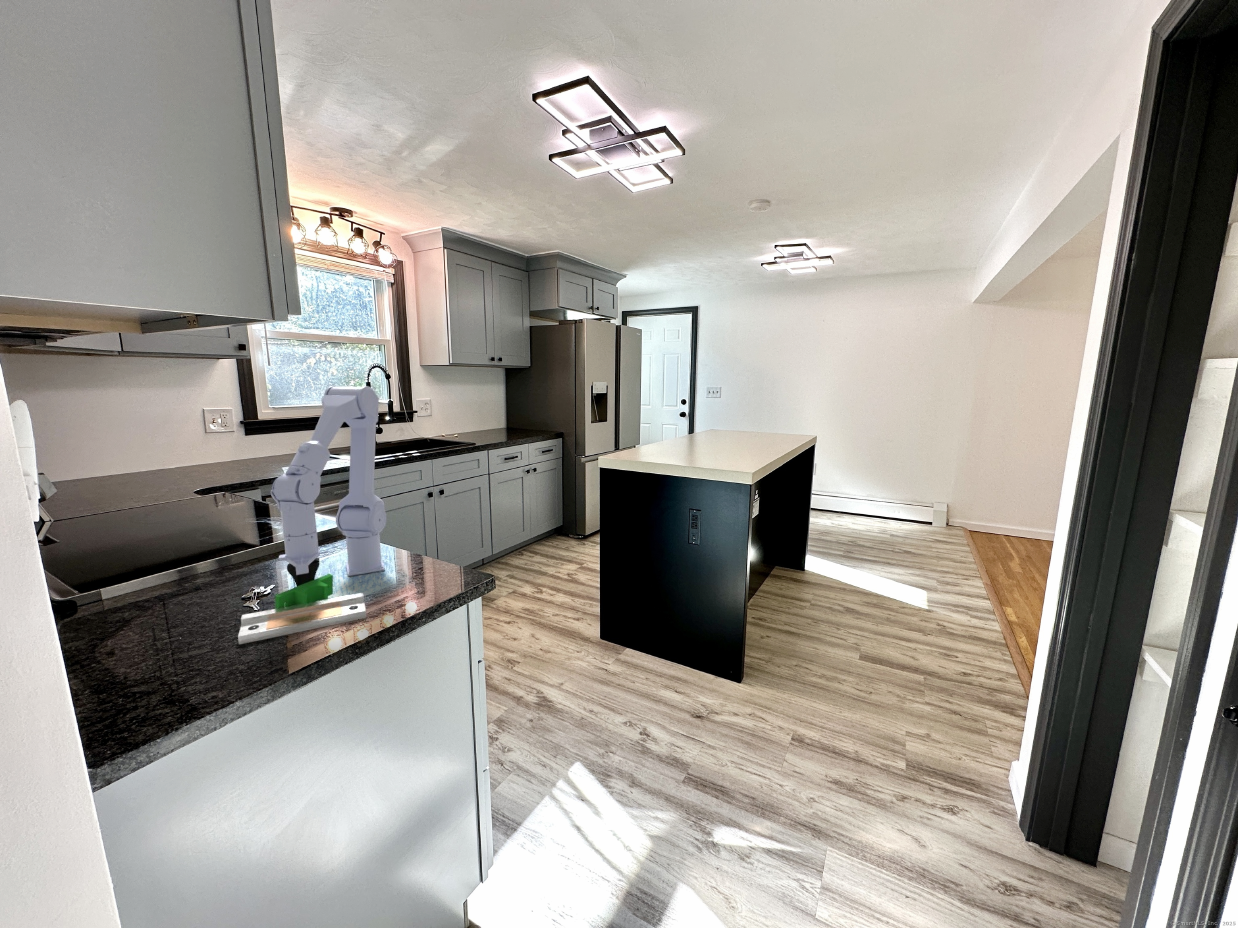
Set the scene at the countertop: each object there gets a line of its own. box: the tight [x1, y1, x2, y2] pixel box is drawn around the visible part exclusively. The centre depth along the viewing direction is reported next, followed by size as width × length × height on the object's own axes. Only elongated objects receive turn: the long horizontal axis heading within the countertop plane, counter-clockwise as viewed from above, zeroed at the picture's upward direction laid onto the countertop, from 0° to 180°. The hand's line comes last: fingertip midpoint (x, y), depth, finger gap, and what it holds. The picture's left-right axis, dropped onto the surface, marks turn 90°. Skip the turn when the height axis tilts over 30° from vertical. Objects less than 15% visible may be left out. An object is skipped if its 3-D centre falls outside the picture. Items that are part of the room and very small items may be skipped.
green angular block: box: [274, 573, 334, 609], centre depth 101 cm, size 11×4×5 cm, turn 155°
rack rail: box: [237, 592, 367, 645], centre depth 95 cm, size 7×20×2 cm, turn 121°
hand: (306, 595), depth 104 cm, fingers closed
